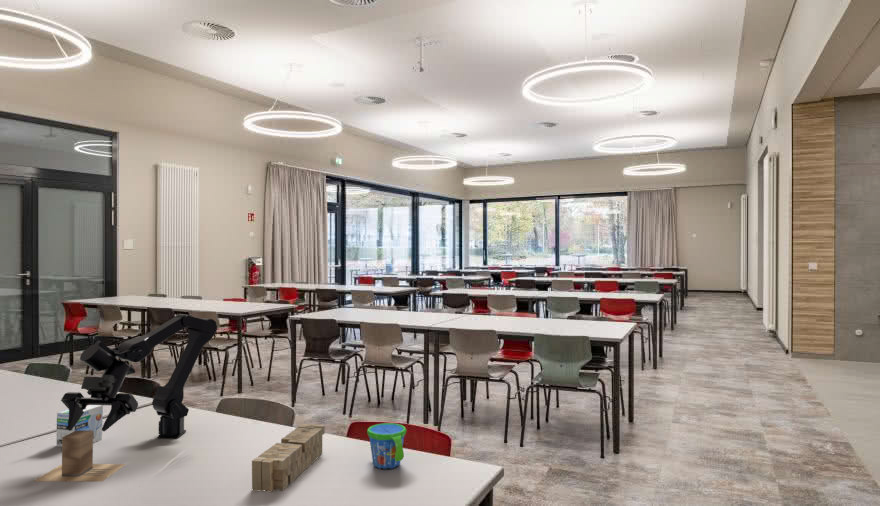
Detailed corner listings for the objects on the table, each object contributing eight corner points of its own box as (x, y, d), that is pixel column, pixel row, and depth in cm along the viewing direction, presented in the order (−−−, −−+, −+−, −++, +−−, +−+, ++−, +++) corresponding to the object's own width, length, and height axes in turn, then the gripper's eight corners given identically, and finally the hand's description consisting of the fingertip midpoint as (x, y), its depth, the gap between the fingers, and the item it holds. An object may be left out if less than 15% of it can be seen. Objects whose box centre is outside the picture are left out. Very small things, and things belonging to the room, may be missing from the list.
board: (125, 467, 149) (125, 463, 149) (102, 484, 138) (102, 480, 138) (61, 467, 148) (61, 464, 148) (33, 484, 137) (33, 480, 137)
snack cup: (359, 458, 158) (360, 422, 158) (394, 452, 162) (394, 418, 162) (377, 478, 144) (378, 439, 144) (414, 472, 148) (415, 434, 148)
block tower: (280, 497, 134) (325, 451, 163) (280, 463, 134) (325, 423, 163) (250, 494, 136) (300, 449, 164) (250, 460, 135) (300, 421, 164)
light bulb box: (74, 450, 161) (74, 414, 161) (54, 449, 162) (55, 412, 162) (103, 439, 171) (103, 404, 171) (85, 437, 173) (85, 403, 173)
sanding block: (92, 468, 146) (93, 430, 146) (79, 476, 140) (80, 437, 141) (75, 468, 146) (75, 430, 146) (61, 476, 140) (62, 437, 140)
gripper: (66, 363, 152) (35, 414, 141) (133, 364, 152) (108, 415, 141) (84, 385, 160) (56, 435, 149) (148, 386, 160) (125, 436, 149)
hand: (85, 430), depth 147 cm, fingers open, 9 cm apart
